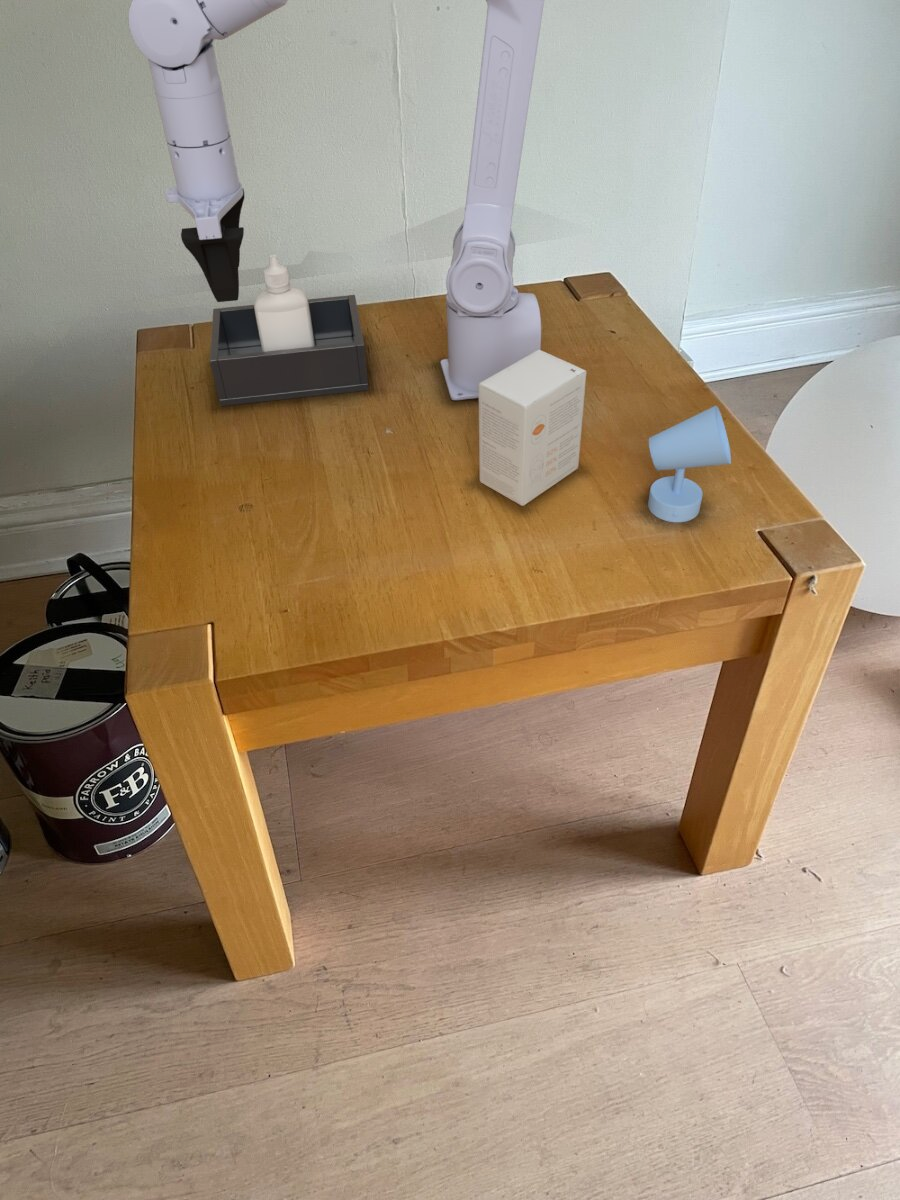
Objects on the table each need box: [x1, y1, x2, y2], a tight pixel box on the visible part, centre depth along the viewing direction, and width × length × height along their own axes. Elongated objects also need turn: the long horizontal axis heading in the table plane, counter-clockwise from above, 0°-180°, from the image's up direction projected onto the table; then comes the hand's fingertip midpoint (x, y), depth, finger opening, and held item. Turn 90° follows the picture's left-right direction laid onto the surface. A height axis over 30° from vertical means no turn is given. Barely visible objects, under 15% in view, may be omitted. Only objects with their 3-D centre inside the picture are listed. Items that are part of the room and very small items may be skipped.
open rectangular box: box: [209, 294, 370, 407], centre depth 96 cm, size 16×12×5 cm
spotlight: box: [647, 405, 732, 523], centre depth 75 cm, size 5×10×7 cm
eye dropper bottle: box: [253, 254, 315, 352], centre depth 93 cm, size 4×6×12 cm
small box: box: [478, 350, 587, 507], centre depth 79 cm, size 8×6×10 cm
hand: (228, 282), depth 90 cm, fingers open, 7 cm apart
